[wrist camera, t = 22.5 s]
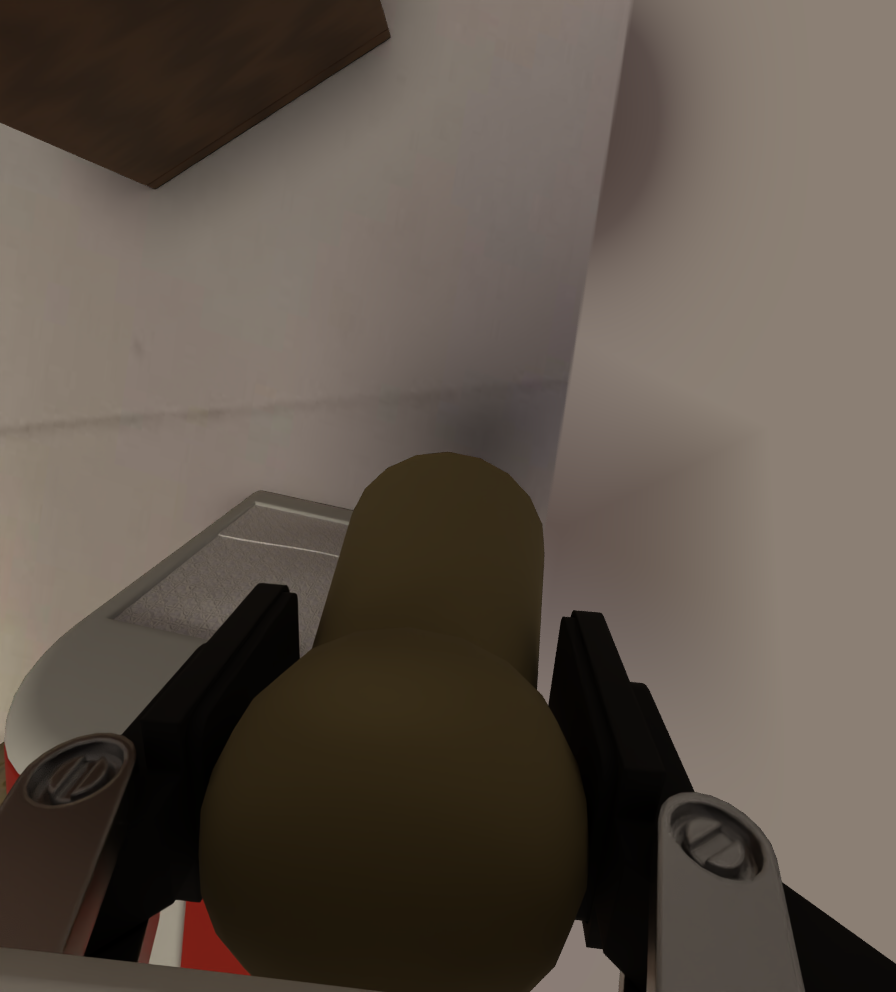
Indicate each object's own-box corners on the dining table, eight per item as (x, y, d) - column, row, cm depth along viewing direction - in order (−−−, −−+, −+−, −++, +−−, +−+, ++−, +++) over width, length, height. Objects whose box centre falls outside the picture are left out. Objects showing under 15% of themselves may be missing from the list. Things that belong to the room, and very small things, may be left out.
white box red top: (457, 532, 41) (425, 866, 16) (414, 713, 47) (338, 1181, 21) (250, 487, 41) (-126, 750, 16) (231, 674, 47) (-71, 1098, 21)
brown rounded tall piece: (517, 427, 15) (595, 675, 4) (564, 611, 17) (698, 1099, 6) (320, 481, 16) (-1, 790, 5) (383, 650, 18) (234, 1133, 7)
